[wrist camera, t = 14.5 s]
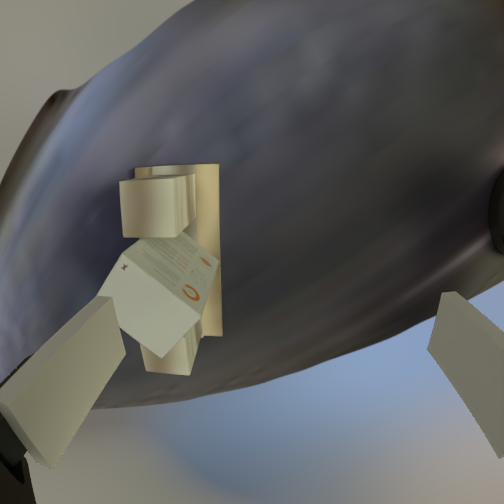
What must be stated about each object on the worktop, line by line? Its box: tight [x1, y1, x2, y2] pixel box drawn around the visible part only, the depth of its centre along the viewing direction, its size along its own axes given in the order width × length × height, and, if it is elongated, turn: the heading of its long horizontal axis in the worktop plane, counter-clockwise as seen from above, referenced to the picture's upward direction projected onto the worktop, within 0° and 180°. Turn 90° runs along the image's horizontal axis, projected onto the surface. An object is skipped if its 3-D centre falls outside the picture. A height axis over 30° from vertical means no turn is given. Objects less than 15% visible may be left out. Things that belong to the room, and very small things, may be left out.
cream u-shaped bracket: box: [119, 164, 223, 375], centre depth 32 cm, size 10×22×11 cm, turn 0°
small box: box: [96, 231, 219, 358], centre depth 29 cm, size 8×6×13 cm
